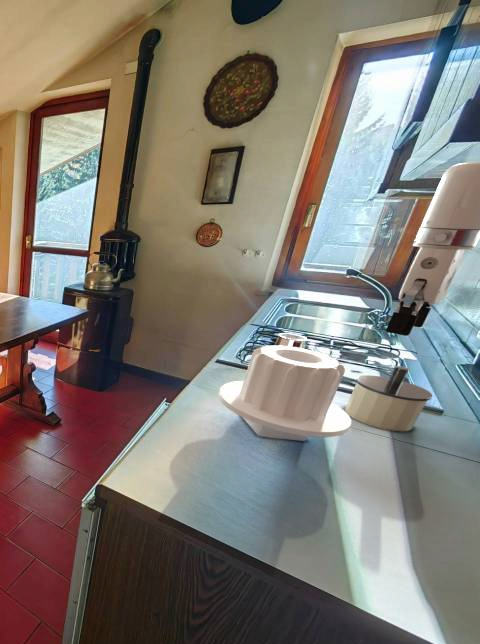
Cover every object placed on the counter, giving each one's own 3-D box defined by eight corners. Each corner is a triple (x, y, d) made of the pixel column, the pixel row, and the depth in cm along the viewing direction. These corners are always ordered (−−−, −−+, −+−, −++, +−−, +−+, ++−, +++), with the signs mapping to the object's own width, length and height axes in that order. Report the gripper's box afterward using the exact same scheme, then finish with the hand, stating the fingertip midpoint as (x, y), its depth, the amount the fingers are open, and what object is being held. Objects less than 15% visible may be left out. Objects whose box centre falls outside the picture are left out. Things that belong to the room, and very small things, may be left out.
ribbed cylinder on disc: (368, 465, 82) (409, 384, 74) (236, 450, 86) (263, 373, 79) (300, 408, 104) (326, 342, 96) (199, 399, 109) (216, 334, 101)
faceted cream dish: (401, 414, 102) (416, 384, 98) (421, 436, 92) (438, 405, 88) (339, 402, 107) (352, 374, 104) (352, 422, 98) (366, 392, 94)
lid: (417, 386, 99) (428, 364, 96) (440, 408, 88) (454, 384, 86) (348, 375, 105) (358, 354, 102) (363, 394, 94) (374, 371, 92)
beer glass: (289, 390, 114) (307, 342, 108) (260, 383, 118) (276, 336, 112) (291, 383, 119) (309, 336, 113) (264, 376, 123) (279, 331, 117)
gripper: (468, 243, 63) (419, 342, 70) (486, 238, 72) (441, 327, 78) (403, 239, 69) (364, 332, 76) (427, 235, 77) (390, 318, 84)
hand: (403, 329), depth 77 cm, fingers open, 9 cm apart
